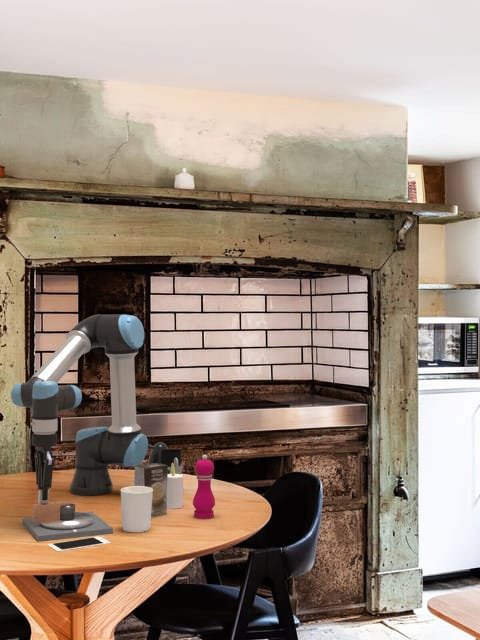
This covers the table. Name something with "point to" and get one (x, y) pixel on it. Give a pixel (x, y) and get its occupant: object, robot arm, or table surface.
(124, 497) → the candle holder
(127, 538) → the table surface
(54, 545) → the cell phone
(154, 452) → the pump dispenser
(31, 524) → the dial plate
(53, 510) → the dial
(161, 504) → the coffee box
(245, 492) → the table surface
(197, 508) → the pepper mill
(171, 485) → the candle
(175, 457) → the picture frame
